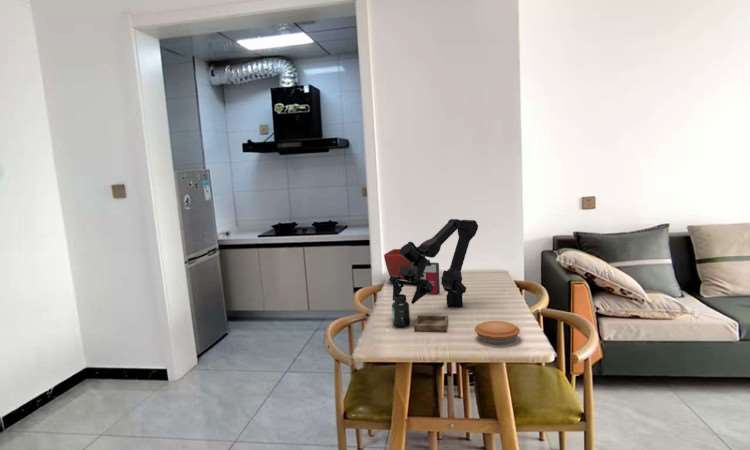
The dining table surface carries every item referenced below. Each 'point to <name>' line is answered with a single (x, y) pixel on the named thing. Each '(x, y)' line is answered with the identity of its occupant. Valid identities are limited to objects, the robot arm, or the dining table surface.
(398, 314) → the supplement bottle
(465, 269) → the dining table surface
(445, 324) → the walnut tray
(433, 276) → the grey and red box
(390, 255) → the plant pot
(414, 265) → the robot arm
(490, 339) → the pie
